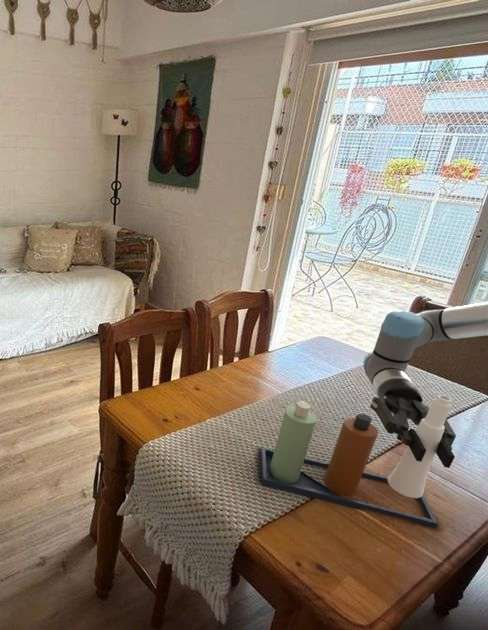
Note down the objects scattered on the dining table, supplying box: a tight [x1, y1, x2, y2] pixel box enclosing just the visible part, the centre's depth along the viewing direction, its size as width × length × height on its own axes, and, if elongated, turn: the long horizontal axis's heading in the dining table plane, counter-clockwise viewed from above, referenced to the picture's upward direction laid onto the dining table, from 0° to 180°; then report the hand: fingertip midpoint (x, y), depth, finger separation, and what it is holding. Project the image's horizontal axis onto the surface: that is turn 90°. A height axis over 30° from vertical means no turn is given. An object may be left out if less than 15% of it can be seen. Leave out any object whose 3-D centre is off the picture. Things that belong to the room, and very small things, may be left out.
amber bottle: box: [323, 412, 379, 497], centre depth 91 cm, size 6×6×18 cm
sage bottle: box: [270, 400, 318, 483], centre depth 95 cm, size 6×6×18 cm
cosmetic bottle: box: [387, 394, 453, 499], centre depth 86 cm, size 6×6×22 cm
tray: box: [259, 446, 439, 528], centre depth 95 cm, size 32×11×2 cm, turn 70°
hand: (435, 458), depth 81 cm, fingers closed on cosmetic bottle, 4 cm apart
